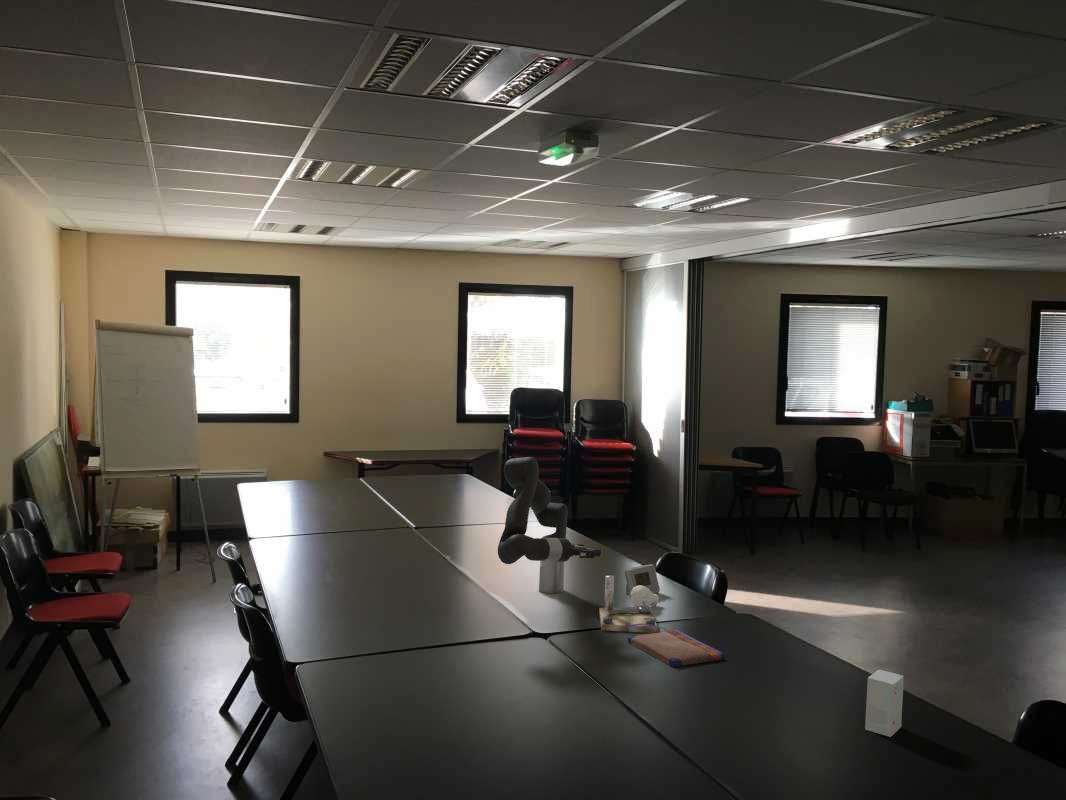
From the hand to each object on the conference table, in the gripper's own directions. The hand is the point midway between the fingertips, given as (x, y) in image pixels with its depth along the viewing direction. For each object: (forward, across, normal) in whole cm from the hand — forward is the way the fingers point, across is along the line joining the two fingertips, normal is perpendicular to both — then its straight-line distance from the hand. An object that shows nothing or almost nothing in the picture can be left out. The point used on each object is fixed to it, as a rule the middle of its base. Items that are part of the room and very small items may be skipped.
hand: (591, 550), depth 284 cm
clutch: (+8, -33, +24) cm, 42 cm away
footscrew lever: (+16, -4, +20) cm, 26 cm away
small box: (+10, -101, +23) cm, 104 cm away
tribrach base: (+14, -7, +23) cm, 28 cm away
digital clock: (+42, +15, +20) cm, 49 cm away
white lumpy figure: (+32, +3, +21) cm, 38 cm away
